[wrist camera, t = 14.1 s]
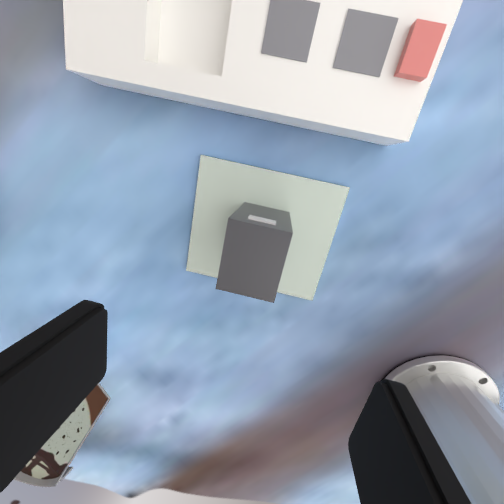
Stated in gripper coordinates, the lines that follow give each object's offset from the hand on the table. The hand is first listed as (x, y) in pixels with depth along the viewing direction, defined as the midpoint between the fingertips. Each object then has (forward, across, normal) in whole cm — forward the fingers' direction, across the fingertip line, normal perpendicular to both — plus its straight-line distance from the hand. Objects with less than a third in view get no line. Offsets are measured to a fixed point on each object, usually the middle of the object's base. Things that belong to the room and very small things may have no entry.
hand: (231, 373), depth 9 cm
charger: (+18, +1, 0) cm, 18 cm away
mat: (+18, +1, -1) cm, 18 cm away
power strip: (+18, +5, -16) cm, 24 cm away
